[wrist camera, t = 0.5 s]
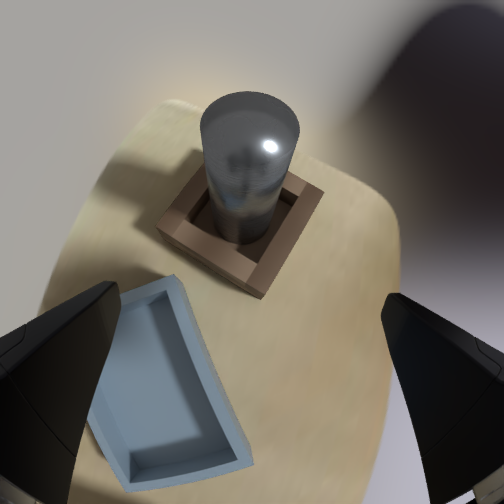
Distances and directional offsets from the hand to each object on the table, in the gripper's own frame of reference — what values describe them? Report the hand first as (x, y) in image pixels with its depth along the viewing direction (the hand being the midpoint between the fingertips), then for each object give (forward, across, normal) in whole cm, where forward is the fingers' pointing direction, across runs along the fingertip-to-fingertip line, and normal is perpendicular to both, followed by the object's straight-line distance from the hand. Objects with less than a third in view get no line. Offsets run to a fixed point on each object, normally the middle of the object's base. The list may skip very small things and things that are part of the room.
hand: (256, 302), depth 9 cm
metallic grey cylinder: (+14, 0, +2) cm, 14 cm away
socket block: (+15, 0, +3) cm, 15 cm away
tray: (+6, +6, +13) cm, 16 cm away
